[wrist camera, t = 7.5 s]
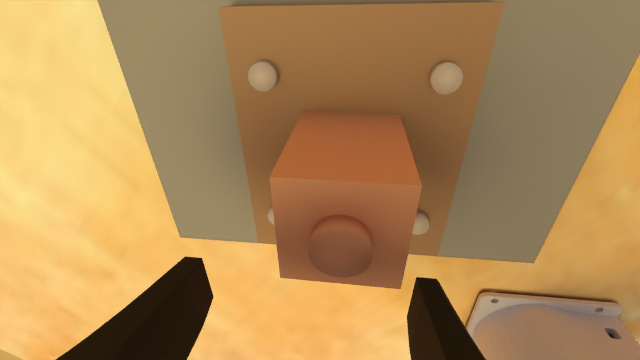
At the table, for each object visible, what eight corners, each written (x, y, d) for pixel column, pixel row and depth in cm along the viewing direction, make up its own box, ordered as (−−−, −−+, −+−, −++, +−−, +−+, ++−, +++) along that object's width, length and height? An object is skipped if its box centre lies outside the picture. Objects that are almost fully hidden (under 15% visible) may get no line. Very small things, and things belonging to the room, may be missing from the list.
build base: (668, -48, 12) (756, -60, 9) (526, 251, 20) (550, 290, 17) (102, -30, 14) (44, -35, 12) (187, 228, 23) (164, 258, 20)
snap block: (400, 114, 14) (427, 202, 8) (388, 195, 16) (403, 308, 10) (302, 111, 14) (261, 191, 8) (305, 190, 17) (275, 295, 11)
